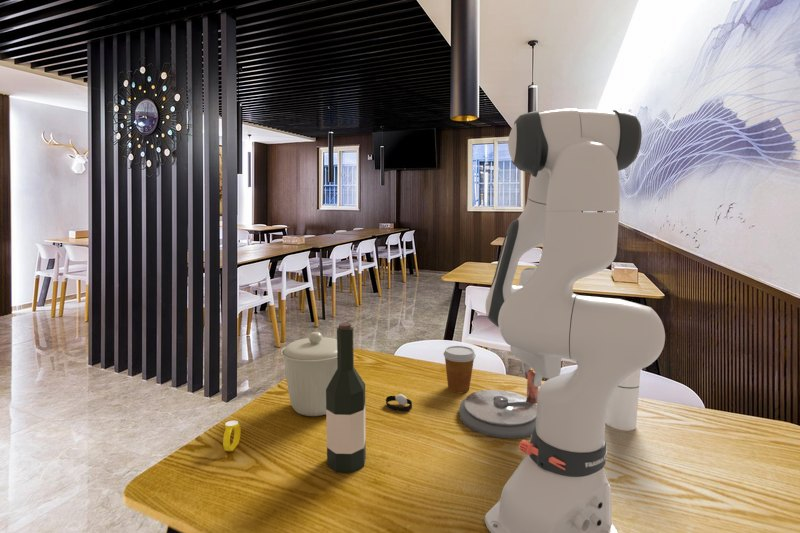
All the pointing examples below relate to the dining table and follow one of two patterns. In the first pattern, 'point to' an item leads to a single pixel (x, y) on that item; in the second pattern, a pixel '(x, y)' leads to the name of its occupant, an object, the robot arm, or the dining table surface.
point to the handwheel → (504, 405)
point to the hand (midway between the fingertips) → (531, 381)
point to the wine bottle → (345, 409)
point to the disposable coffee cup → (459, 367)
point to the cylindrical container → (624, 404)
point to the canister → (310, 372)
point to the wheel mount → (495, 426)
